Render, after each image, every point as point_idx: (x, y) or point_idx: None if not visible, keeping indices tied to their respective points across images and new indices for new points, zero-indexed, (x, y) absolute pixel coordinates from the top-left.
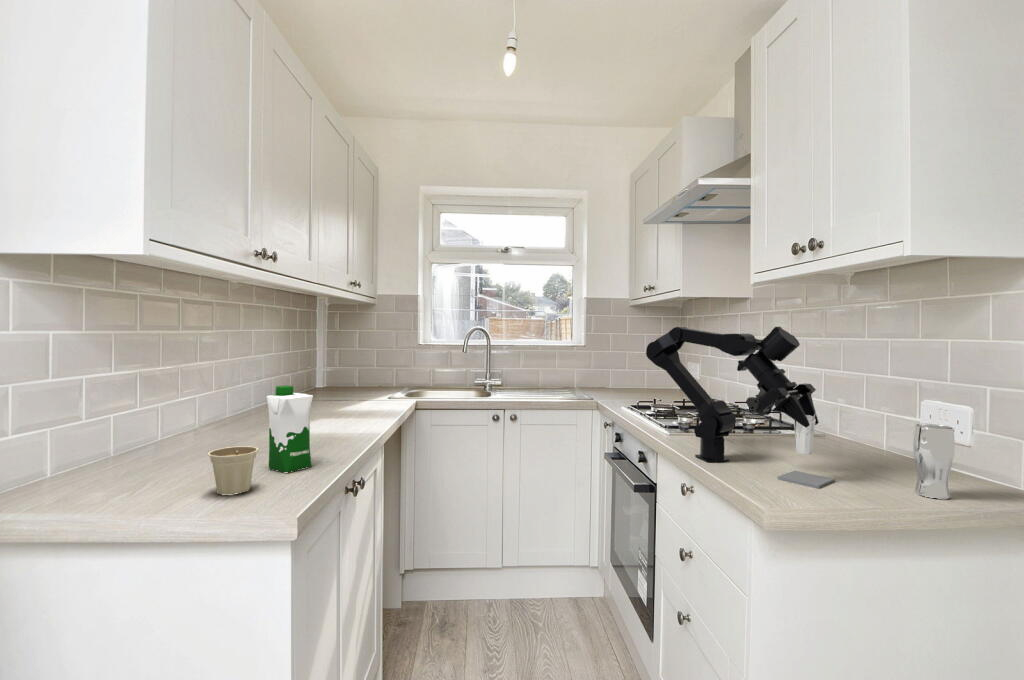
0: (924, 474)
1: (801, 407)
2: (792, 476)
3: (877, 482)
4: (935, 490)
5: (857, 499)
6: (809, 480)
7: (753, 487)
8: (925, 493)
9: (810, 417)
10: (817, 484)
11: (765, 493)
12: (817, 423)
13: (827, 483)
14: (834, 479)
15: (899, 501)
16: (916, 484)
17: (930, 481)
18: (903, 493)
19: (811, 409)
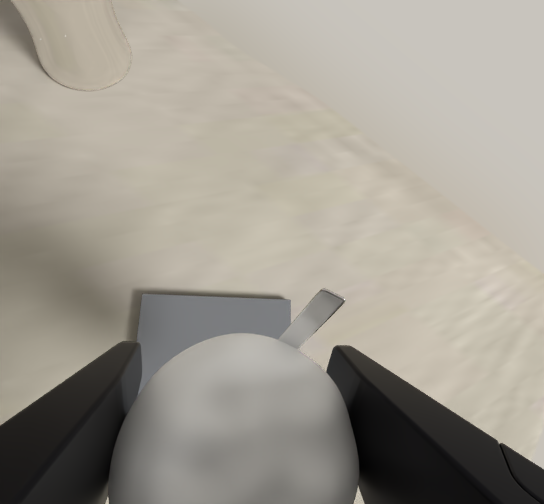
0: (105, 8)
1: (498, 489)
2: None
3: (31, 188)
4: (120, 27)
5: (306, 189)
6: None
7: None
8: (127, 58)
9: (276, 375)
10: (276, 308)
11: (476, 390)
12: (139, 347)
13: (211, 297)
14: (143, 294)
15: (231, 111)
16: (88, 65)
17: (113, 14)
18: (129, 112)
19: (57, 473)
